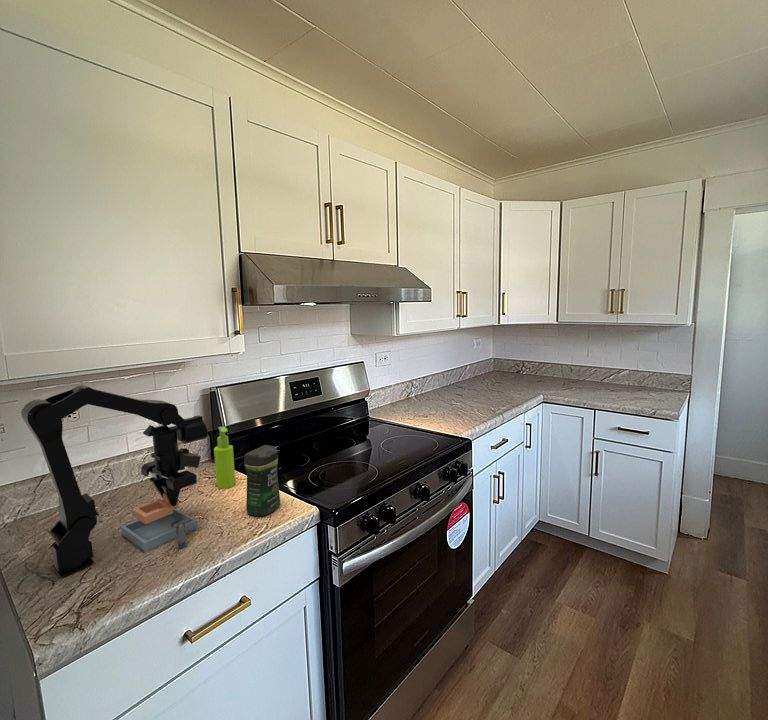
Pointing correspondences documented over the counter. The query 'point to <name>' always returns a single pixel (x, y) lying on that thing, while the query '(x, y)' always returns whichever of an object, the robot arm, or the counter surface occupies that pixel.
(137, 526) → the tray
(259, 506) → the coffee jar
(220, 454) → the soap dispenser
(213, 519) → the counter surface
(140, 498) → the counter surface
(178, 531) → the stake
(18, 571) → the counter surface
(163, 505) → the tan rectangular frame
